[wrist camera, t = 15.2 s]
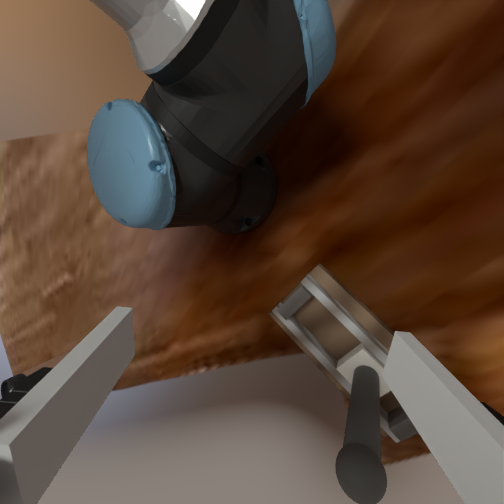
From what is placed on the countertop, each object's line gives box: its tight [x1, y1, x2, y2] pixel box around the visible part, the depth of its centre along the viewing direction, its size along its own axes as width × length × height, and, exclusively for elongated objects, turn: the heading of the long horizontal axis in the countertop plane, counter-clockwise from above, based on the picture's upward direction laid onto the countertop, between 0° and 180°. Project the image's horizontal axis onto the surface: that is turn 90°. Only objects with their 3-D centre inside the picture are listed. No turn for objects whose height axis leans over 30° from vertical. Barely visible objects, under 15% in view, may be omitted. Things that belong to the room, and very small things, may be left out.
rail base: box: [269, 263, 418, 443], centre depth 37 cm, size 24×12×4 cm, turn 50°
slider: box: [336, 343, 391, 504], centre depth 28 cm, size 6×5×19 cm
